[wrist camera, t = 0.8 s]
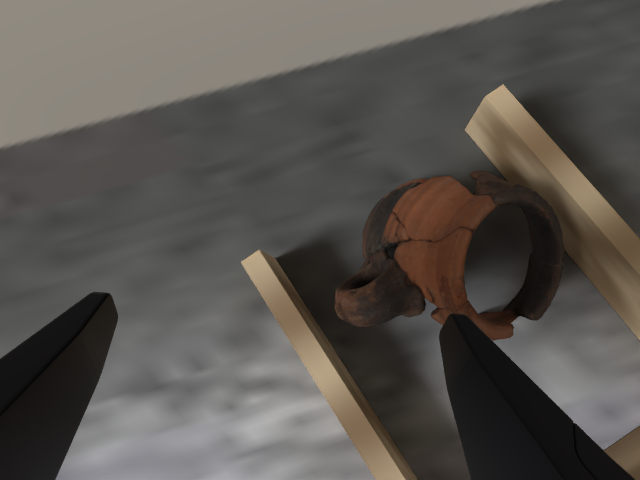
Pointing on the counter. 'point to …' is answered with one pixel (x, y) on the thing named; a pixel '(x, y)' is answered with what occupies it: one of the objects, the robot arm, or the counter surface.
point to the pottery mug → (446, 254)
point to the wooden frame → (579, 242)
